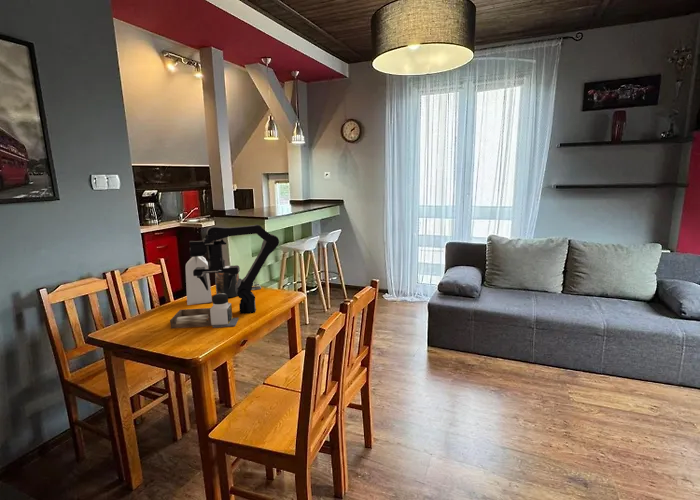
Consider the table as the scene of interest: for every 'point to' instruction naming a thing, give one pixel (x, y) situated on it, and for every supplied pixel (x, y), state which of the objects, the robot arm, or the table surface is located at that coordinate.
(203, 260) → the milk
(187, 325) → the walnut rack
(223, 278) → the jar
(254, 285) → the house of cards
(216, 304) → the medicine bottle
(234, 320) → the rubber mat
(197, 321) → the offcut stack
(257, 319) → the table surface
